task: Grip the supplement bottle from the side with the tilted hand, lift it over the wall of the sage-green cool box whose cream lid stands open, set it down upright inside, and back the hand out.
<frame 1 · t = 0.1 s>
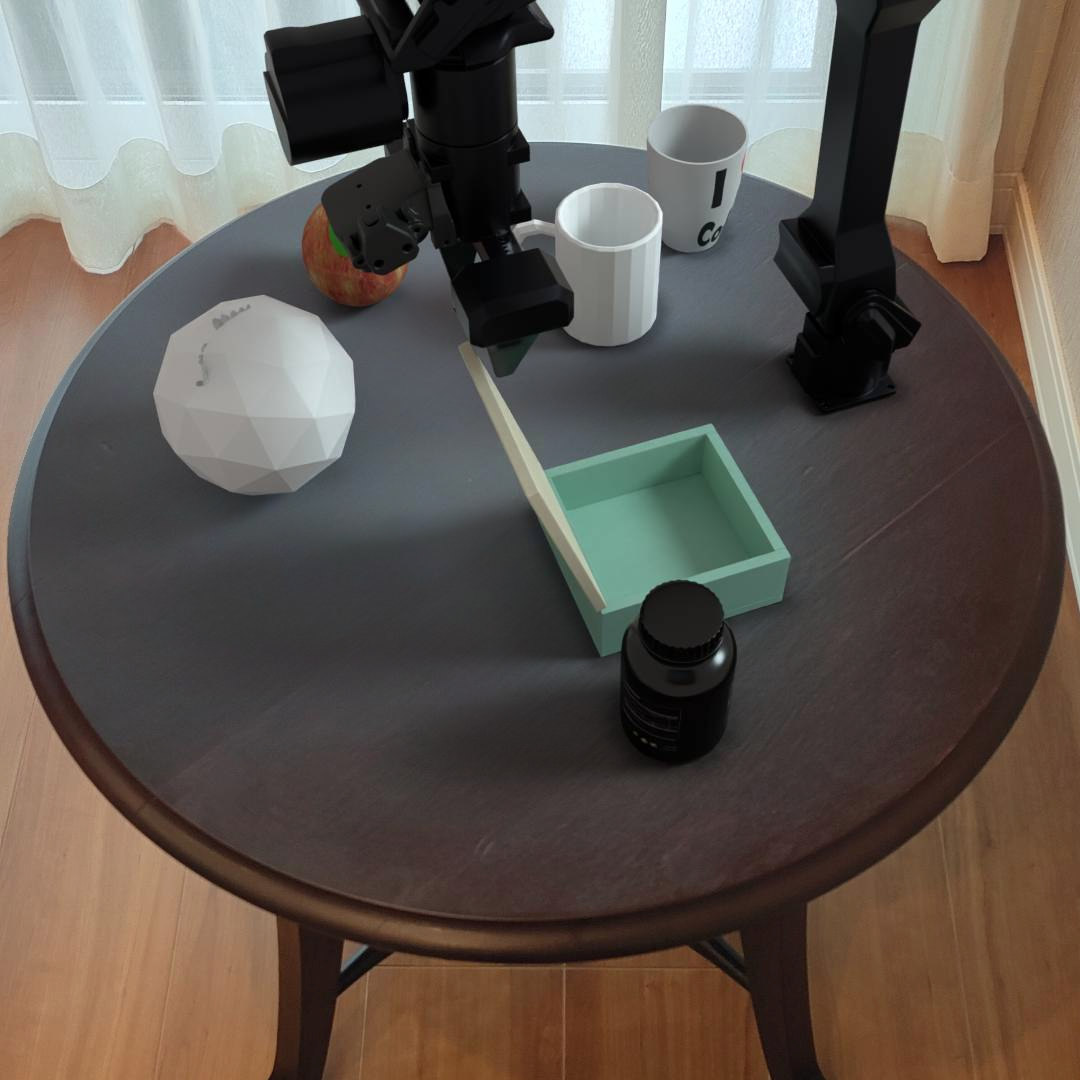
hand: (481, 327, 85), 15 cm above the table, tool pointing down, fingers open, 9 cm apart
cooler lid: (534, 479, 80), point 12 cm above the table, hinge at 108.0°
geodesic sphere: (275, 461, 98), on the table
cup: (688, 235, 113), on the table
fruit: (363, 291, 109), on the table
mug: (582, 313, 107), on the table
cooler: (656, 558, 91), on the table
supplement bottle: (671, 721, 84), on the table
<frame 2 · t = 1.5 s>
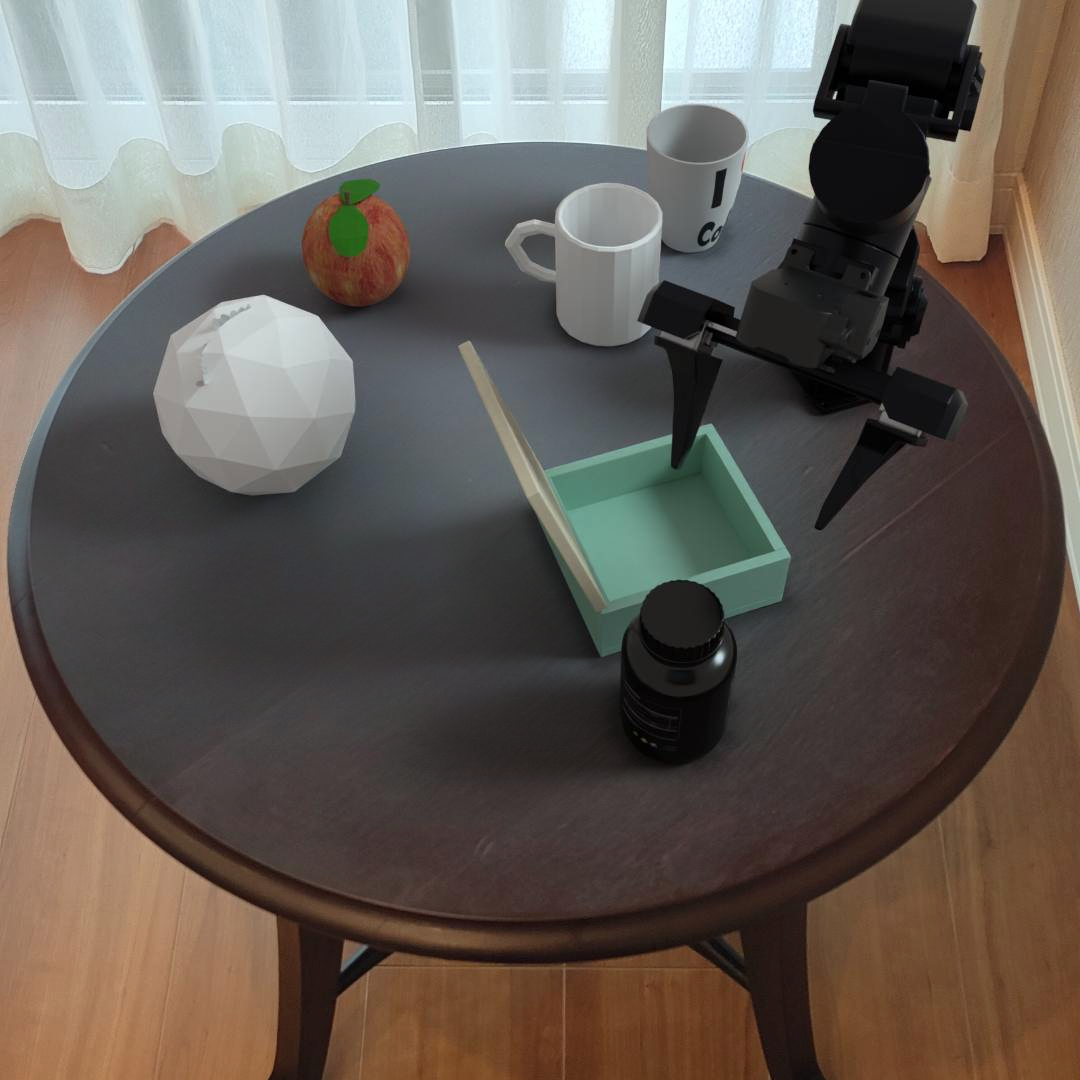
hand: (745, 498, 77), 13 cm above the table, tool tilted 45°, fingers open, 9 cm apart
nothing on the table moved.
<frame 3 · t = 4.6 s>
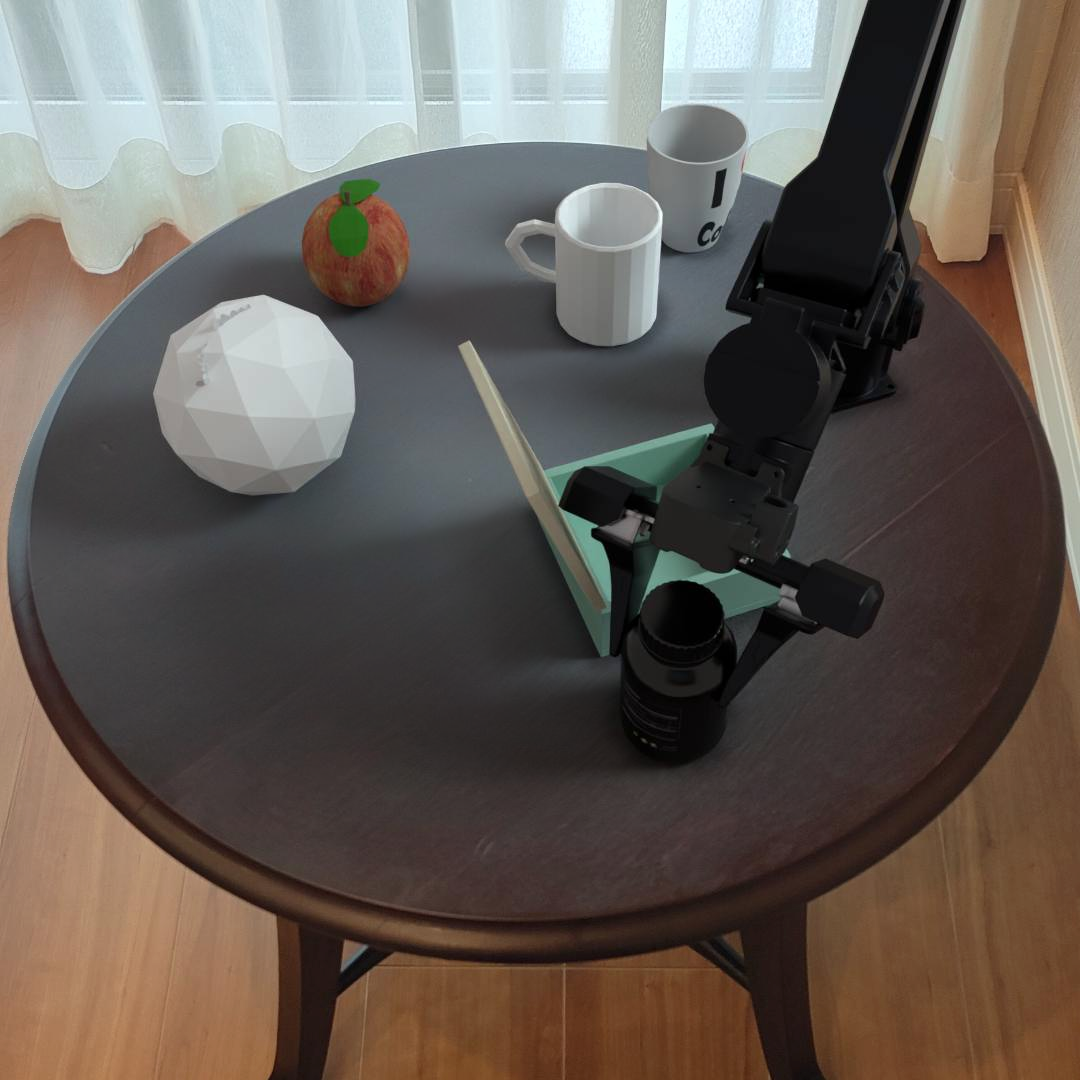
hand: (666, 680, 78), 7 cm above the table, tool tilted 45°, fingers closed on supplement bottle, 7 cm apart
supplement bottle: (671, 721, 84), on the table, touching gripper
everything else where it was.
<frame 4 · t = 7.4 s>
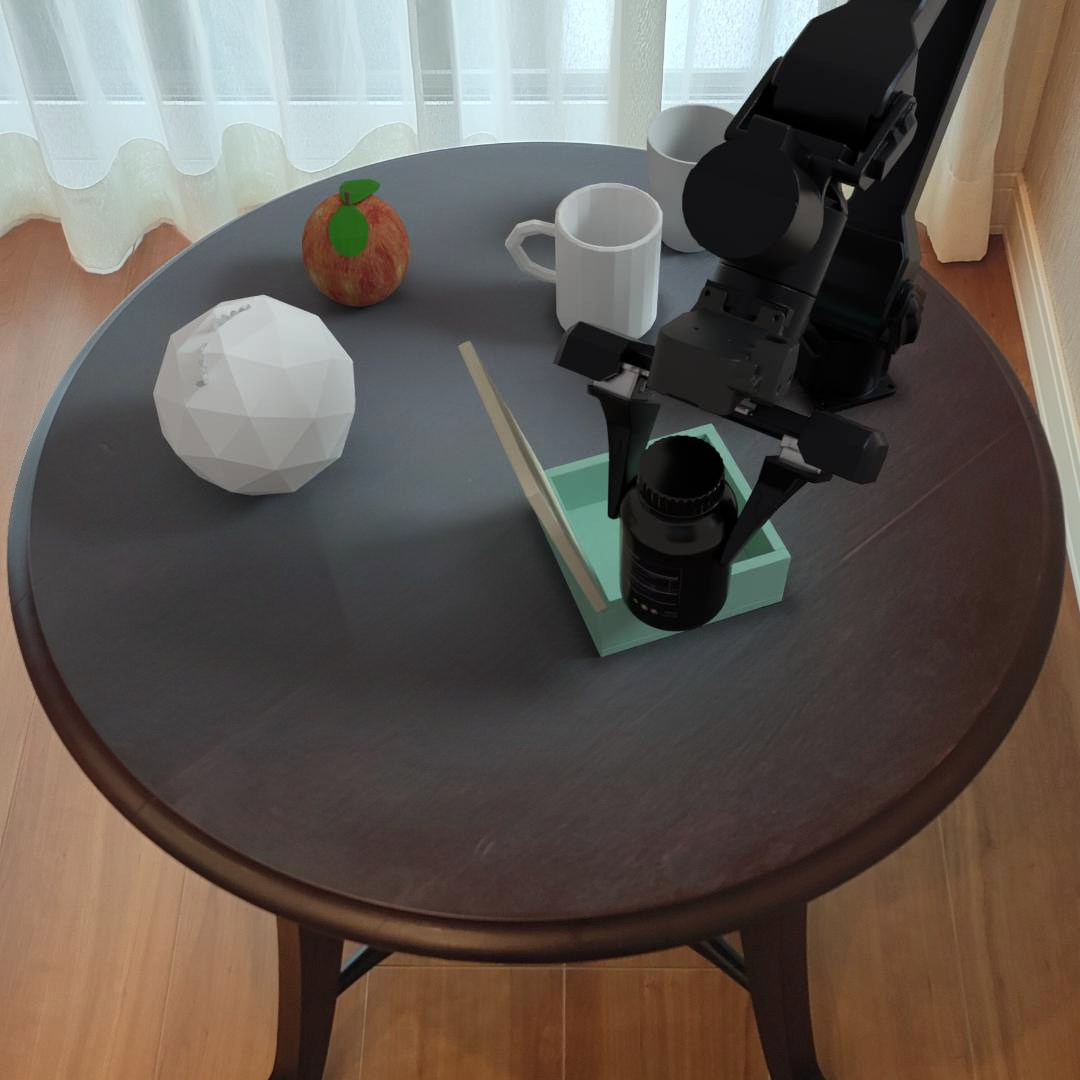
hand: (666, 541, 76), 13 cm above the table, tool tilted 45°, fingers closed on supplement bottle, 7 cm apart
supplement bottle: (672, 592, 82), point 6 cm above the table, touching gripper
everything else where it was.
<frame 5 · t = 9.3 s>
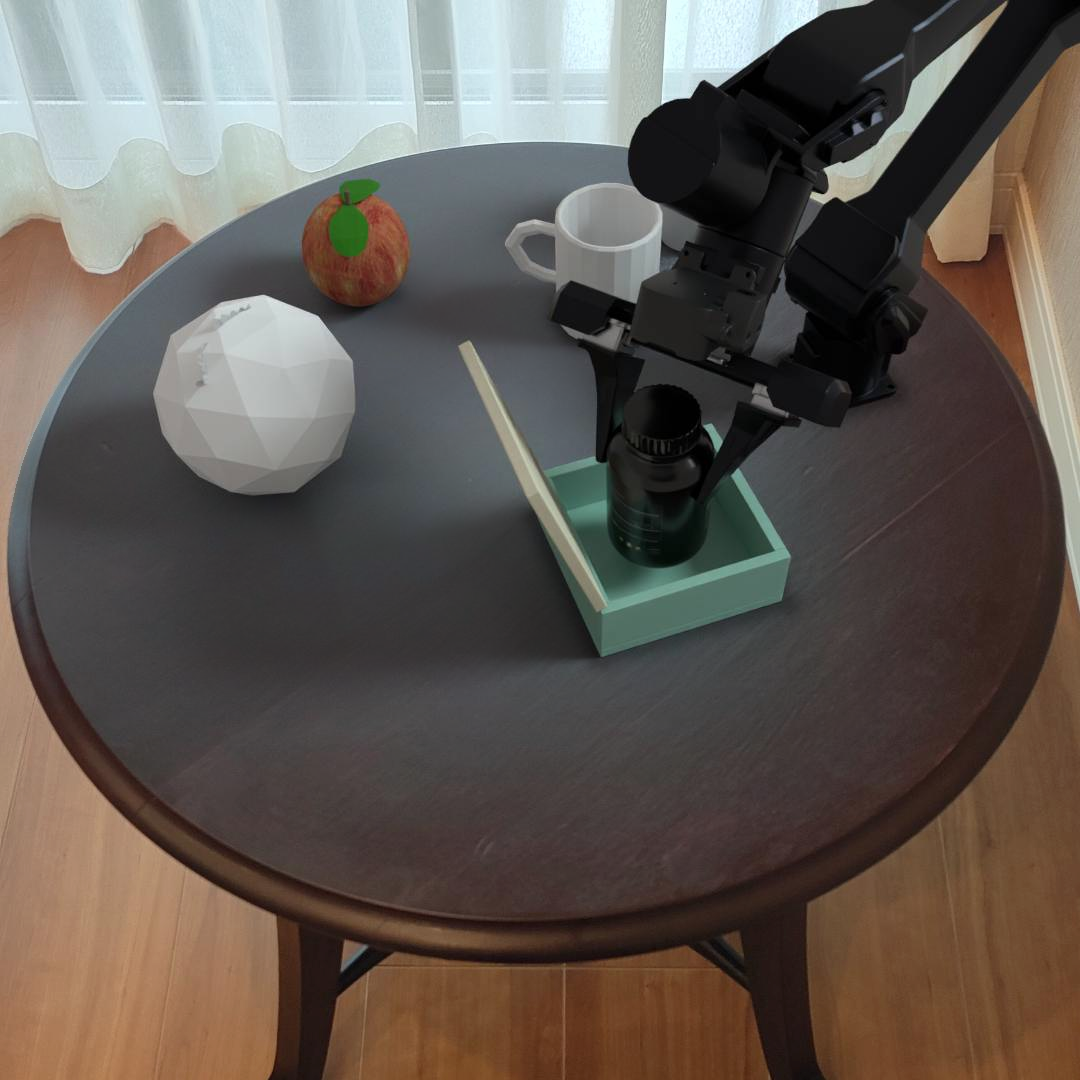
hand: (649, 483, 83), 10 cm above the table, tool tilted 45°, fingers closed on supplement bottle, 7 cm apart
supplement bottle: (656, 534, 89), point 3 cm above the table, touching gripper
everything else where it was.
when the fingers open (7 cm above the table, at t = 10.6 s): supplement bottle stays where it is, resting on cooler.
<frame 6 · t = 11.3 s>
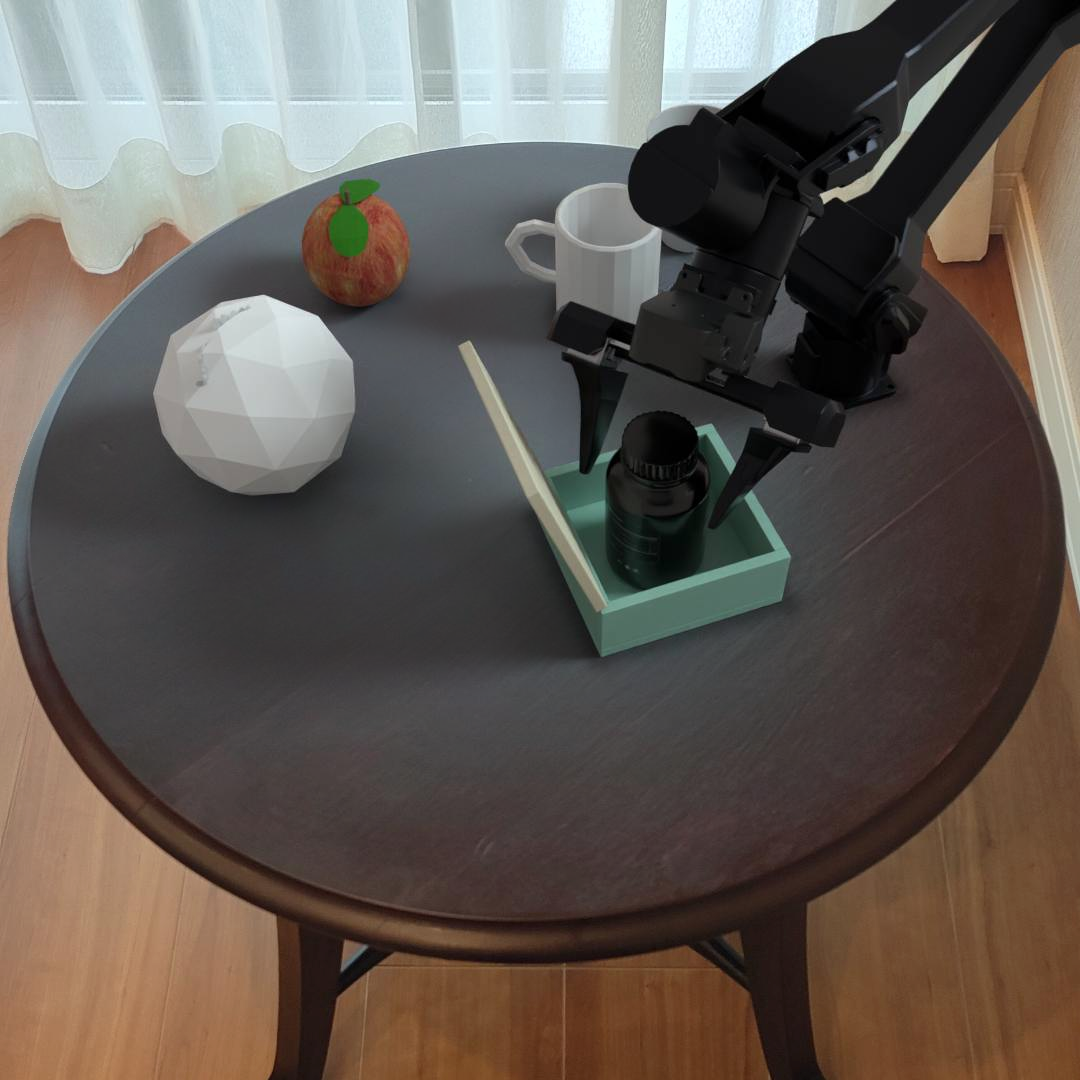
hand: (646, 500, 84), 8 cm above the table, tool tilted 45°, fingers open, 9 cm apart
supplement bottle: (653, 556, 91), point 1 cm above the table, touching cooler
everything else where it was.
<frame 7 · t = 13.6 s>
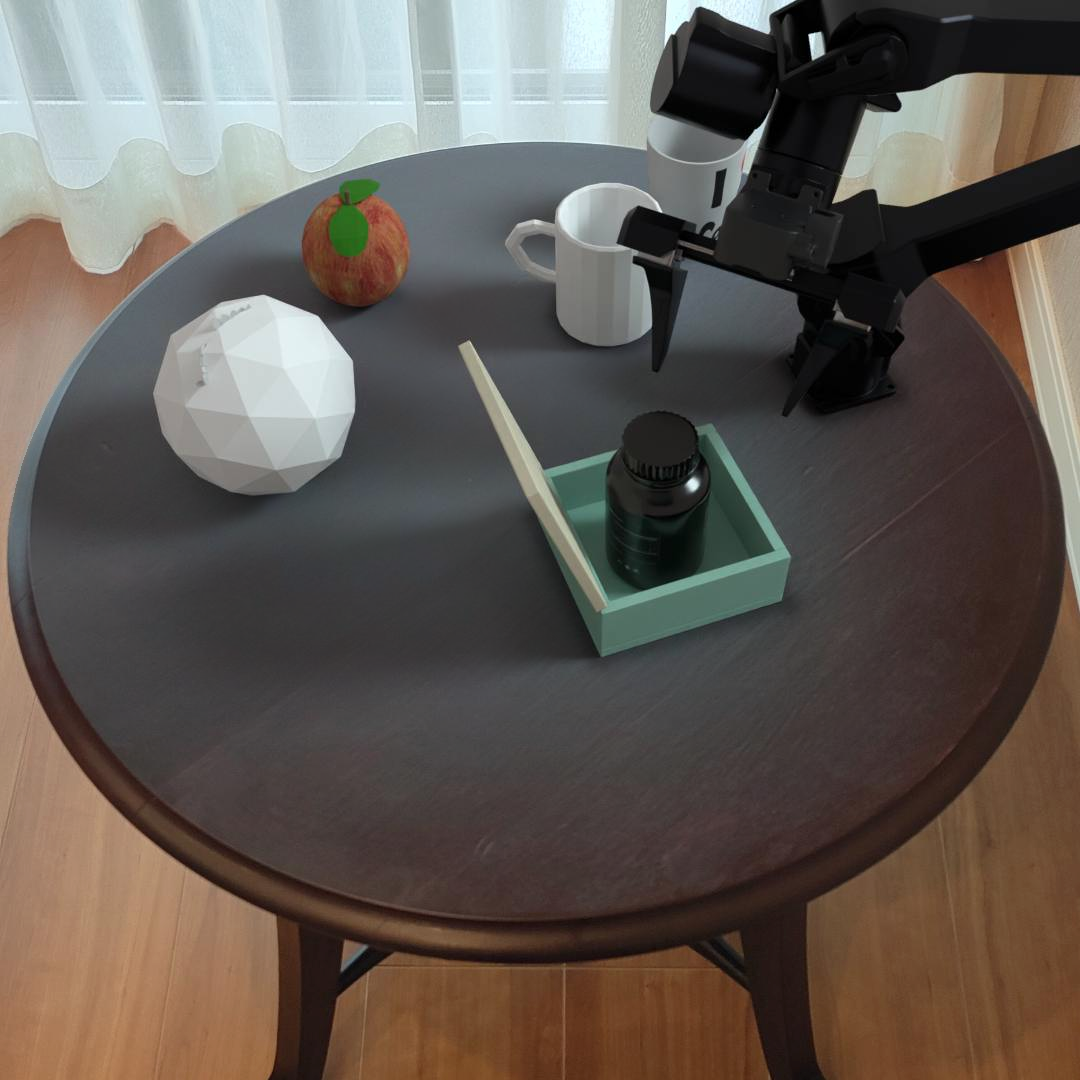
hand: (719, 393, 88), 9 cm above the table, tool tilted 40°, fingers open, 9 cm apart
nothing on the table moved.
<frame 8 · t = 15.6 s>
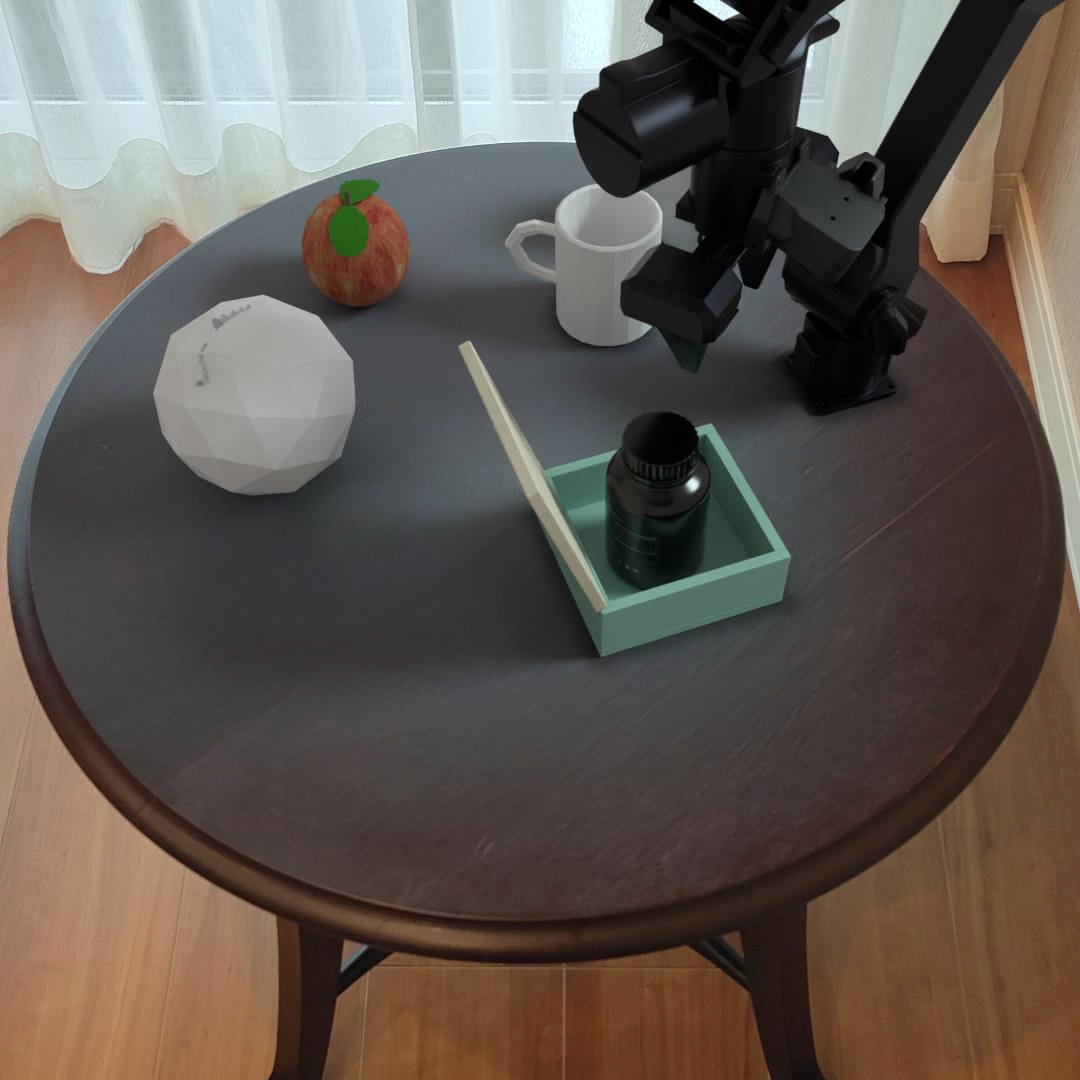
hand: (721, 327, 87), 13 cm above the table, tool pointing down, fingers open, 9 cm apart
nothing on the table moved.
at the end: supplement bottle inside the target area in the cooler (0.4 cm from its centre), point 0.6 cm above the cooler's base; supplement bottle tilted 0°; mug moved 0.2 cm from its start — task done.
